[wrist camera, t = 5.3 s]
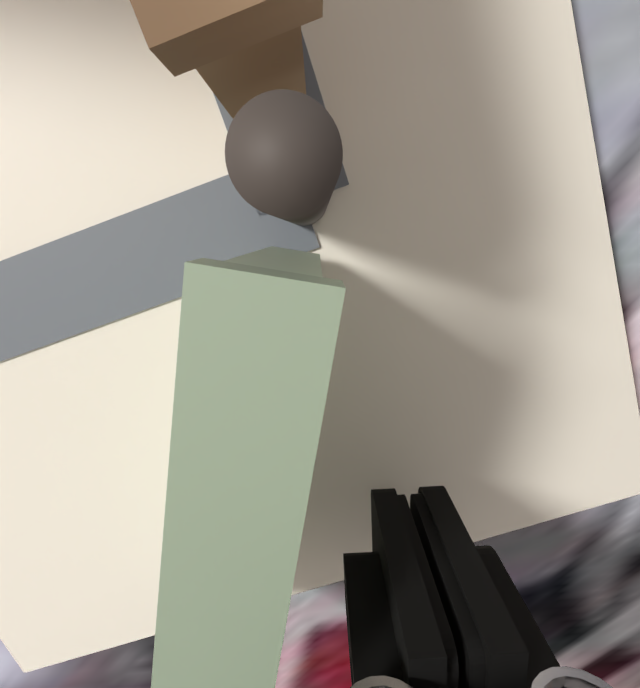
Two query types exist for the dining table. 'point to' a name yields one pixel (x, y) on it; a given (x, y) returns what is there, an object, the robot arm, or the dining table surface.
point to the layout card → (336, 263)
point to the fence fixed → (256, 95)
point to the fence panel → (241, 462)
